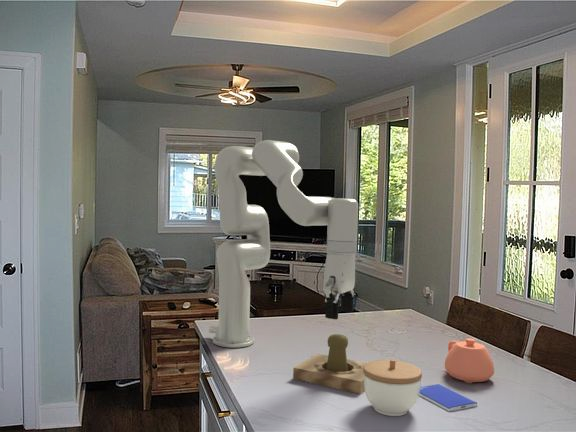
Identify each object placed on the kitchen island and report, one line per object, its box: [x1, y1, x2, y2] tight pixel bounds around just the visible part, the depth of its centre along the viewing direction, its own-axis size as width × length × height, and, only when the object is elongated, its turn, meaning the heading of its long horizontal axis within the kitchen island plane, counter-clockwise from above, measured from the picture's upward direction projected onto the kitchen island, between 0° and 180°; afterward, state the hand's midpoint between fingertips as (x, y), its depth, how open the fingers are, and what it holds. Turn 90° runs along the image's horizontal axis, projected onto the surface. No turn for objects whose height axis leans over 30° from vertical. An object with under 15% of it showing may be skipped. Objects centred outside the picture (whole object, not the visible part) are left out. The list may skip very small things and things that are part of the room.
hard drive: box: [419, 383, 478, 412], centre depth 128 cm, size 2×8×12 cm
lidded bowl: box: [363, 358, 423, 417], centre depth 121 cm, size 13×13×11 cm
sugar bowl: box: [444, 338, 495, 384], centre depth 144 cm, size 12×14×10 cm
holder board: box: [292, 353, 367, 395], centre depth 140 cm, size 18×14×3 cm
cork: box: [326, 333, 349, 372], centre depth 140 cm, size 6×6×11 cm
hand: (339, 314), depth 139 cm, fingers open, 9 cm apart
